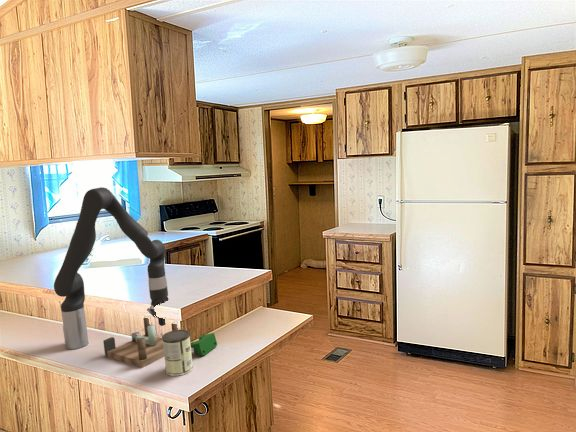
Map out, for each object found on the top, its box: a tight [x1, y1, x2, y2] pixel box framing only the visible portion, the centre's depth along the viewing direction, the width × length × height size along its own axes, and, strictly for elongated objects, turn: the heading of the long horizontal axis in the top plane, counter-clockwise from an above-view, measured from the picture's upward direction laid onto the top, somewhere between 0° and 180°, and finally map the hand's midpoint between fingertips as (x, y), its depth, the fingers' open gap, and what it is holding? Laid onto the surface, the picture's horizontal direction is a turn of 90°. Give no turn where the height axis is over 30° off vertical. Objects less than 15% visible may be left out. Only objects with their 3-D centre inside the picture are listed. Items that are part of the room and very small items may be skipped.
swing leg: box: [131, 324, 157, 346], centre depth 193 cm, size 14×3×8 cm, turn 57°
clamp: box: [190, 332, 218, 357], centre depth 186 cm, size 12×6×9 cm, turn 150°
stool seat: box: [102, 317, 178, 368], centre depth 190 cm, size 24×22×10 cm
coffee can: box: [161, 329, 194, 377], centre depth 170 cm, size 10×10×14 cm
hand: (162, 325), depth 194 cm, fingers closed
